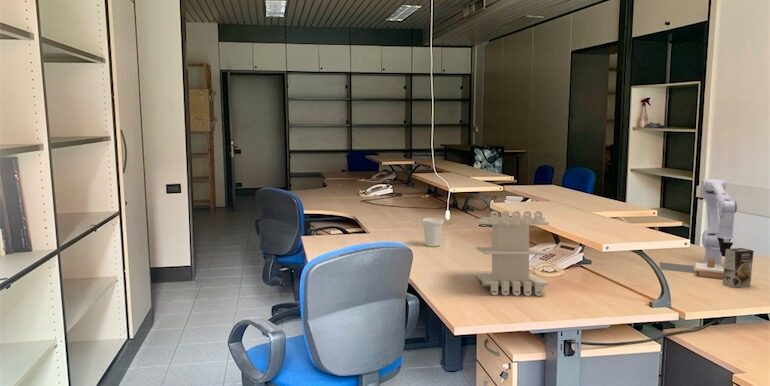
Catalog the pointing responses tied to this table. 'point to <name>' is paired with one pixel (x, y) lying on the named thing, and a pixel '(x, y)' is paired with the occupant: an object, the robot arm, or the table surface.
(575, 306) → the table surface
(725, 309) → the table surface
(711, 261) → the lid
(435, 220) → the cup
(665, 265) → the mat
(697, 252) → the table surface
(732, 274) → the coffee box
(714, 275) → the open box
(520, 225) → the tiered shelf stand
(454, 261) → the table surface
